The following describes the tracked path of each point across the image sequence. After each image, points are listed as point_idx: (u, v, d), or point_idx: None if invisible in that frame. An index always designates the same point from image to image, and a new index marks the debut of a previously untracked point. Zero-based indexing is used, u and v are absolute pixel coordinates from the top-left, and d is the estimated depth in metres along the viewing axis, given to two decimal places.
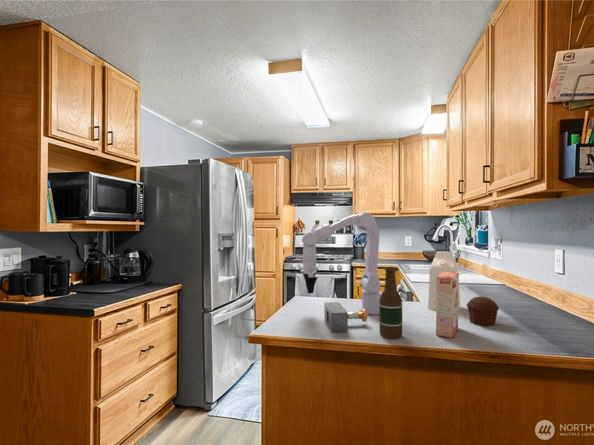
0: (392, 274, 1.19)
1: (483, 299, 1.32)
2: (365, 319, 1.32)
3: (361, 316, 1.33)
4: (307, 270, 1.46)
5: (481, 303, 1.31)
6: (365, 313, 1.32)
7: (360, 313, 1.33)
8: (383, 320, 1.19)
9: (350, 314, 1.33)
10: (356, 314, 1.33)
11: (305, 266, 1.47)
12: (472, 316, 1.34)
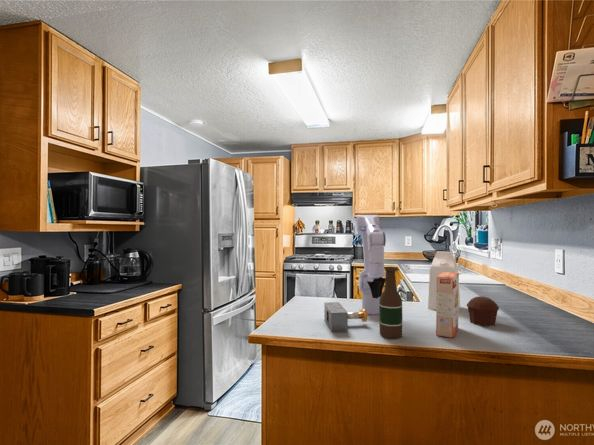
0: (392, 274, 1.19)
1: (483, 299, 1.32)
2: (365, 319, 1.32)
3: (361, 316, 1.33)
4: (371, 273, 1.33)
5: (481, 303, 1.31)
6: (365, 313, 1.32)
7: (360, 313, 1.33)
8: (383, 320, 1.19)
9: (350, 314, 1.33)
10: (356, 314, 1.33)
11: (369, 269, 1.34)
12: (472, 316, 1.34)
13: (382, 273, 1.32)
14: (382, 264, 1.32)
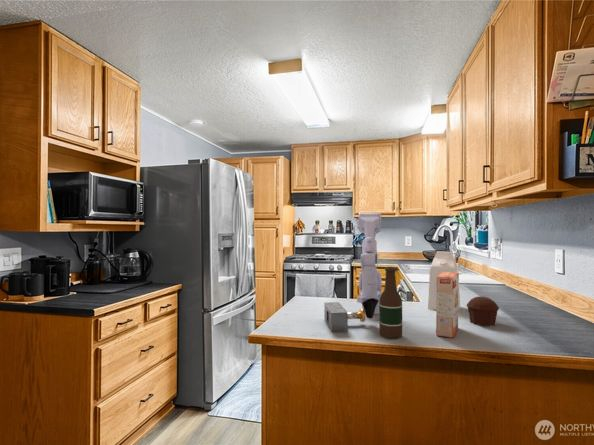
0: (392, 274, 1.19)
1: (483, 299, 1.32)
2: (363, 319, 1.32)
3: (359, 316, 1.33)
4: (363, 294, 1.33)
5: (481, 303, 1.31)
6: (363, 313, 1.32)
7: (358, 313, 1.33)
8: (383, 320, 1.19)
9: (348, 314, 1.33)
10: (354, 314, 1.33)
11: (362, 289, 1.34)
12: (472, 316, 1.34)
13: (374, 294, 1.32)
14: (374, 285, 1.32)
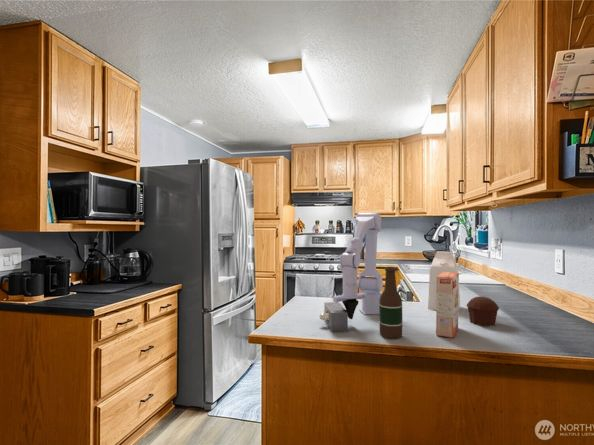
0: (392, 274, 1.19)
1: (483, 299, 1.32)
2: None
3: None
4: (342, 294, 1.33)
5: (481, 303, 1.31)
6: None
7: None
8: (383, 320, 1.19)
9: None
10: None
11: None
12: (472, 316, 1.34)
13: (352, 295, 1.31)
14: (352, 286, 1.31)
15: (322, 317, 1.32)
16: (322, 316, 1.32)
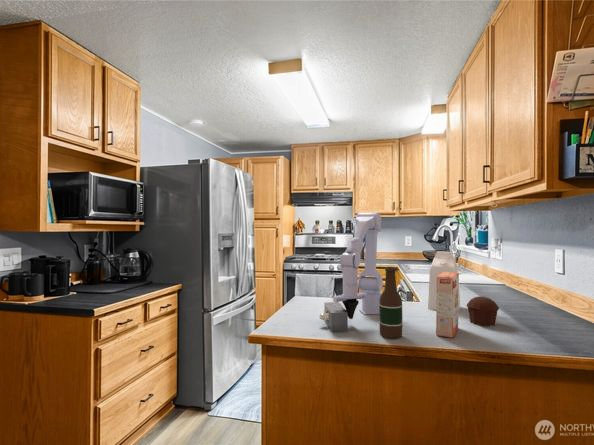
0: (392, 274, 1.19)
1: (483, 299, 1.33)
2: None
3: None
4: (342, 294, 1.34)
5: (481, 303, 1.31)
6: None
7: None
8: (383, 320, 1.19)
9: None
10: None
11: None
12: (472, 316, 1.34)
13: (352, 295, 1.31)
14: (352, 286, 1.31)
15: (322, 317, 1.32)
16: (322, 316, 1.32)
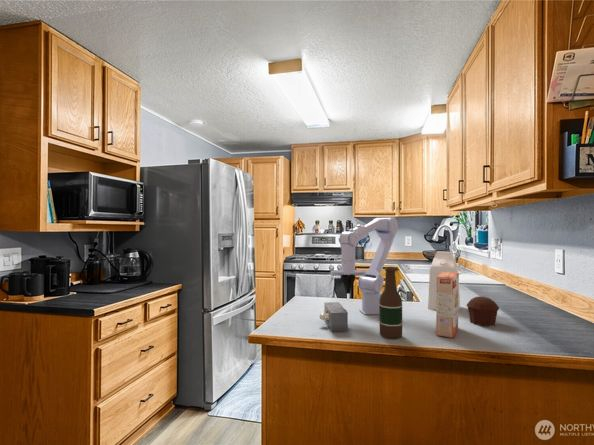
0: (392, 274, 1.19)
1: (483, 299, 1.32)
2: None
3: None
4: (341, 270, 1.44)
5: (481, 303, 1.31)
6: None
7: None
8: (383, 320, 1.19)
9: None
10: None
11: None
12: (472, 316, 1.34)
13: (348, 270, 1.40)
14: (348, 262, 1.40)
15: (322, 317, 1.32)
16: (322, 316, 1.32)
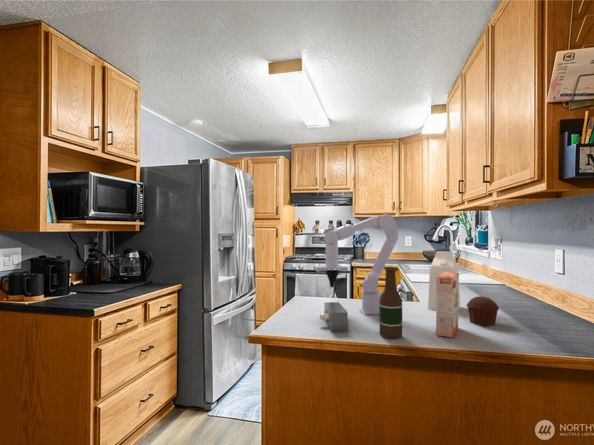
0: (392, 274, 1.19)
1: (483, 299, 1.33)
2: None
3: None
4: None
5: (481, 303, 1.31)
6: None
7: None
8: (383, 320, 1.19)
9: None
10: None
11: None
12: (472, 316, 1.34)
13: (331, 266, 1.54)
14: (331, 258, 1.54)
15: (322, 317, 1.32)
16: (322, 316, 1.32)
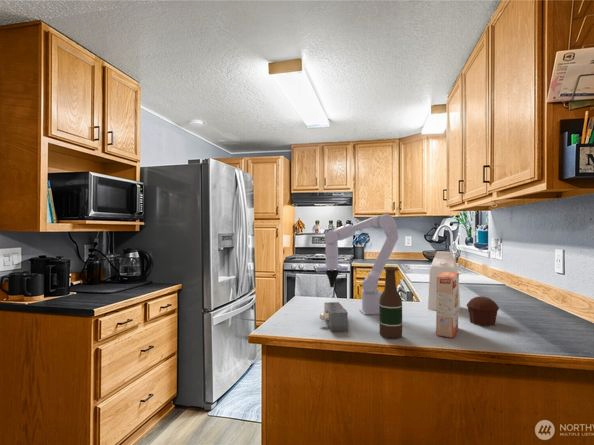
0: (392, 274, 1.19)
1: (483, 299, 1.32)
2: None
3: None
4: None
5: (481, 303, 1.31)
6: None
7: None
8: (383, 320, 1.19)
9: None
10: None
11: None
12: (472, 316, 1.34)
13: (331, 266, 1.54)
14: (331, 258, 1.54)
15: (322, 317, 1.32)
16: (322, 316, 1.32)
